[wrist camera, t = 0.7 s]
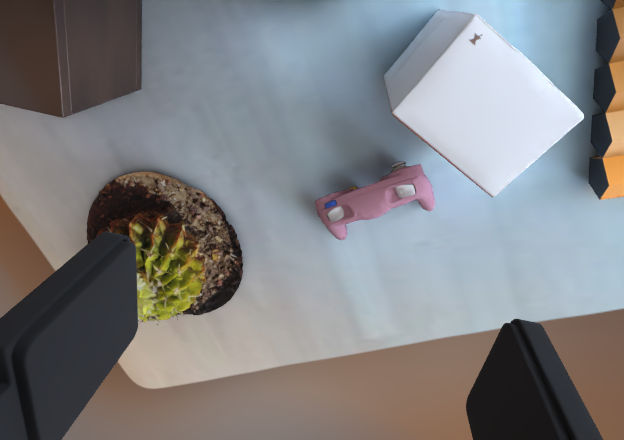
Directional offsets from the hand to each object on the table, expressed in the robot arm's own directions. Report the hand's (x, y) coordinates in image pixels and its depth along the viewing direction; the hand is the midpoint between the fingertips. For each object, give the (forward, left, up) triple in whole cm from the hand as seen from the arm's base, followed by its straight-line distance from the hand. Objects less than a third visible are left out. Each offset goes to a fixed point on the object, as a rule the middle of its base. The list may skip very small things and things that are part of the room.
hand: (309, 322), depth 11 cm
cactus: (+19, -15, -28) cm, 37 cm away
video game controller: (+8, +4, -28) cm, 30 cm away
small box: (-3, +7, -28) cm, 29 cm away
